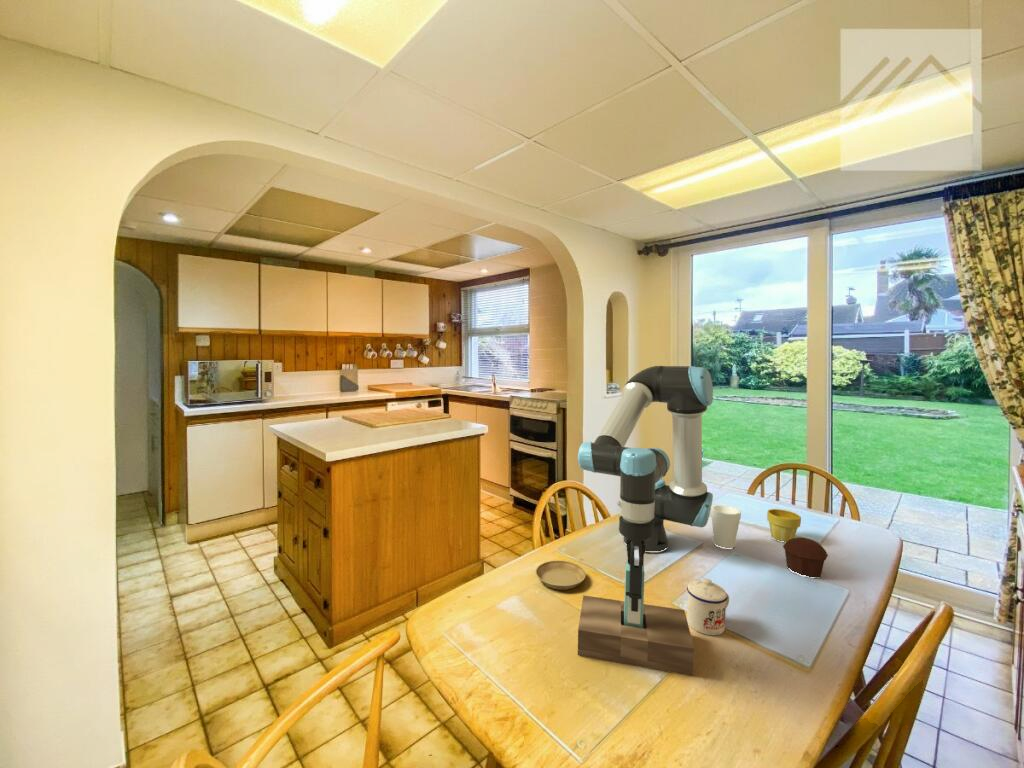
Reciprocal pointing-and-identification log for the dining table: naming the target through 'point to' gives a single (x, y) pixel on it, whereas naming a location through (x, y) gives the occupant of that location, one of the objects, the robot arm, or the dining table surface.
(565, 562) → the plant saucer
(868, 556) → the dining table surface
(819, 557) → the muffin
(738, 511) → the foam cup
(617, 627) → the hole board
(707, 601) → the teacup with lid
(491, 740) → the dining table surface
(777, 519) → the plant pot
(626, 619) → the peg
